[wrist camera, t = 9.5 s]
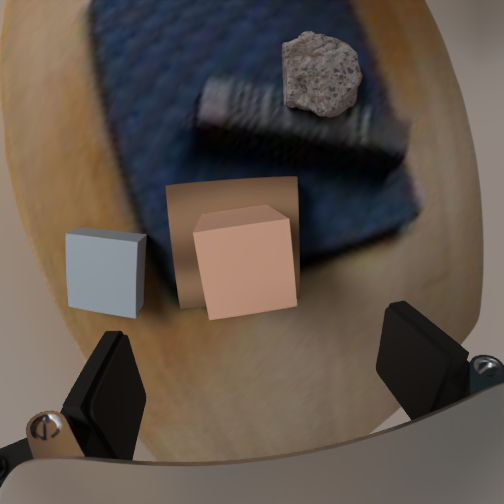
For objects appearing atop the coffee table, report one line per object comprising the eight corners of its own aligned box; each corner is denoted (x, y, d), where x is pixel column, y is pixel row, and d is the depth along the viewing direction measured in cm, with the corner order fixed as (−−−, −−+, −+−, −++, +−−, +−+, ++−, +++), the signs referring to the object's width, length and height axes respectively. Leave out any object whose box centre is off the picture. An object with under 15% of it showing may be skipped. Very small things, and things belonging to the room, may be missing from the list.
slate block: (81, 226, 29) (65, 233, 26) (147, 234, 30) (137, 242, 27) (82, 292, 31) (68, 306, 27) (144, 303, 32) (135, 318, 28)
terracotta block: (201, 214, 27) (192, 232, 18) (267, 204, 27) (289, 218, 19) (212, 276, 28) (209, 320, 20) (274, 267, 29) (297, 306, 20)
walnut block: (172, 184, 30) (165, 185, 26) (287, 176, 31) (297, 176, 27) (184, 293, 33) (180, 308, 29) (291, 284, 34) (299, 298, 30)
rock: (281, 119, 29) (290, 111, 25) (276, 32, 26) (284, 16, 22) (358, 124, 30) (375, 119, 26) (350, 41, 27) (365, 28, 23)
